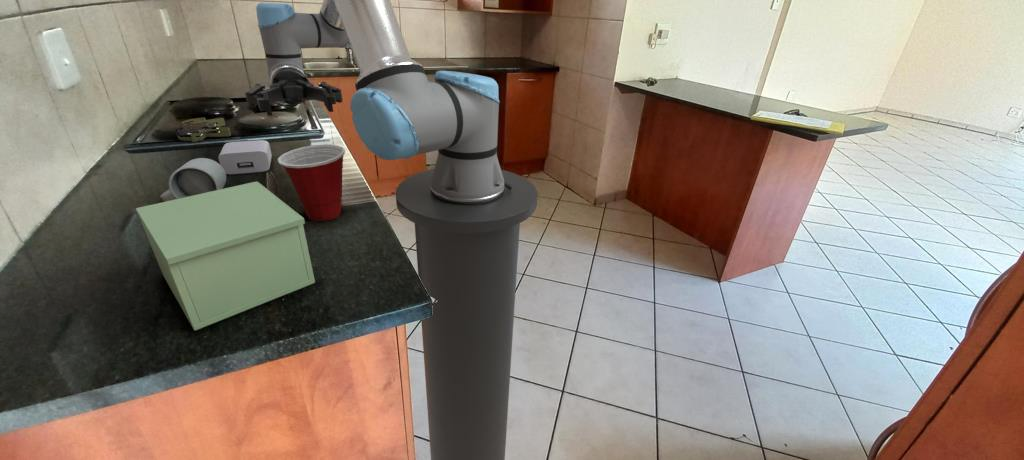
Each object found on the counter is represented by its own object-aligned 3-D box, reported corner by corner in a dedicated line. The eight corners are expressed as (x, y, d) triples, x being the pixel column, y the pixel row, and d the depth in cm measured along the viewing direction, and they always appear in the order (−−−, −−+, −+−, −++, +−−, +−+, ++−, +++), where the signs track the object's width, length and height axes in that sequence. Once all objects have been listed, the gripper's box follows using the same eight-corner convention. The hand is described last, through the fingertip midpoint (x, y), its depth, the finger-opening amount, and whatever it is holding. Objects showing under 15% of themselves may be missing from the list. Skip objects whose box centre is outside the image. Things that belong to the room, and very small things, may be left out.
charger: (273, 151, 108) (270, 170, 96) (231, 154, 105) (223, 175, 93) (269, 132, 106) (265, 150, 94) (226, 135, 103) (217, 154, 91)
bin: (315, 282, 60) (302, 221, 56) (194, 331, 51) (166, 262, 46) (272, 241, 69) (258, 186, 65) (163, 276, 60) (137, 214, 55)
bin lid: (305, 223, 55) (304, 218, 55) (168, 265, 46) (166, 258, 45) (258, 186, 65) (257, 181, 64) (137, 213, 55) (135, 208, 55)
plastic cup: (293, 205, 82) (280, 144, 76) (353, 199, 85) (344, 141, 79) (287, 231, 73) (272, 164, 67) (354, 224, 76) (345, 160, 70)
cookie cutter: (232, 137, 116) (230, 130, 115) (178, 143, 110) (176, 136, 109) (225, 122, 129) (223, 115, 128) (176, 127, 122) (174, 120, 121)
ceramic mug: (232, 188, 87) (221, 151, 83) (223, 204, 80) (211, 165, 77) (171, 193, 84) (157, 156, 80) (156, 211, 77) (140, 171, 73)
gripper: (345, 99, 101) (365, 122, 83) (236, 104, 91) (234, 131, 74) (340, 65, 97) (360, 82, 80) (227, 67, 87) (222, 87, 70)
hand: (300, 106), depth 77 cm, fingers open, 9 cm apart
